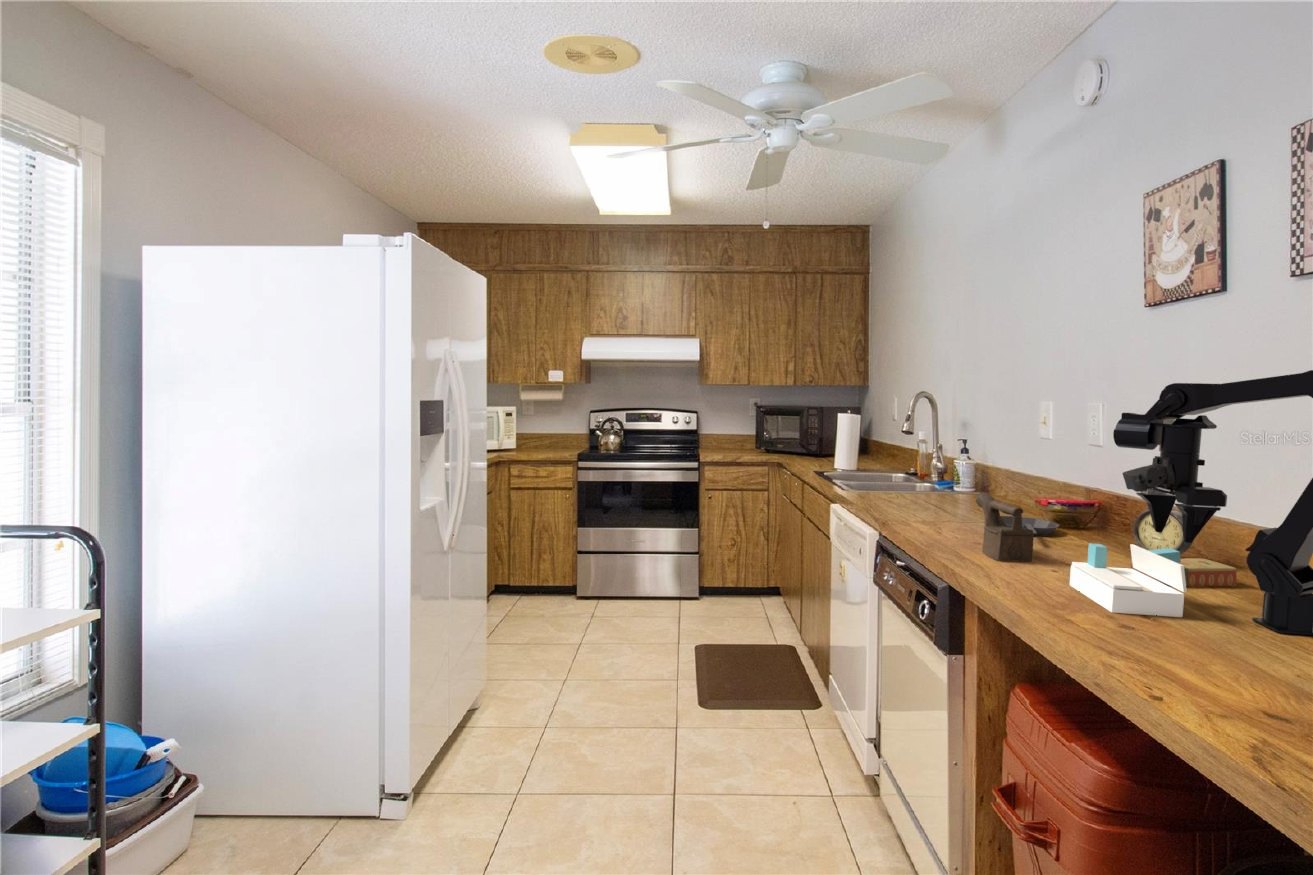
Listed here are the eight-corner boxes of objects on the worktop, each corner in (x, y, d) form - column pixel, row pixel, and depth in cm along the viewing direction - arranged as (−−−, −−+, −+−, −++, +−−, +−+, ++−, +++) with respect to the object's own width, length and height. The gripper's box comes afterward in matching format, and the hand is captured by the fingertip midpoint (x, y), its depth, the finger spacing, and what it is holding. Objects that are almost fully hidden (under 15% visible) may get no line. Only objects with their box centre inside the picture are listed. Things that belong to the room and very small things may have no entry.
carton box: (1182, 617, 118) (1184, 593, 118) (1111, 612, 120) (1113, 589, 119) (1130, 589, 135) (1132, 568, 134) (1069, 585, 136) (1070, 564, 136)
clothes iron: (997, 546, 170) (1001, 492, 169) (1034, 563, 154) (1038, 503, 153) (965, 546, 170) (968, 491, 169) (999, 562, 154) (1002, 502, 153)
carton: (1236, 588, 138) (1238, 567, 138) (1160, 588, 137) (1162, 567, 137) (1201, 577, 147) (1202, 557, 146) (1128, 576, 145) (1130, 556, 145)
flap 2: (1183, 592, 118) (1213, 589, 117) (1180, 566, 118) (1210, 563, 117) (1132, 567, 134) (1158, 564, 133) (1130, 544, 134) (1155, 541, 133)
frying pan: (1053, 528, 196) (1054, 515, 196) (1075, 552, 166) (1076, 536, 166) (983, 522, 203) (984, 509, 202) (992, 544, 173) (993, 529, 173)
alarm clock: (1130, 555, 163) (1135, 487, 162) (1144, 553, 166) (1149, 486, 165) (1181, 567, 154) (1187, 494, 152) (1195, 564, 156) (1201, 493, 155)
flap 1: (1071, 564, 136) (1073, 541, 136) (1096, 565, 135) (1098, 543, 135) (1113, 588, 119) (1115, 562, 119) (1142, 590, 119) (1144, 564, 118)
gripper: (1106, 446, 137) (1100, 524, 138) (1160, 455, 118) (1152, 545, 120) (1168, 448, 135) (1162, 528, 136) (1232, 458, 117) (1224, 549, 118)
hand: (1172, 537), depth 128 cm, fingers open, 9 cm apart
